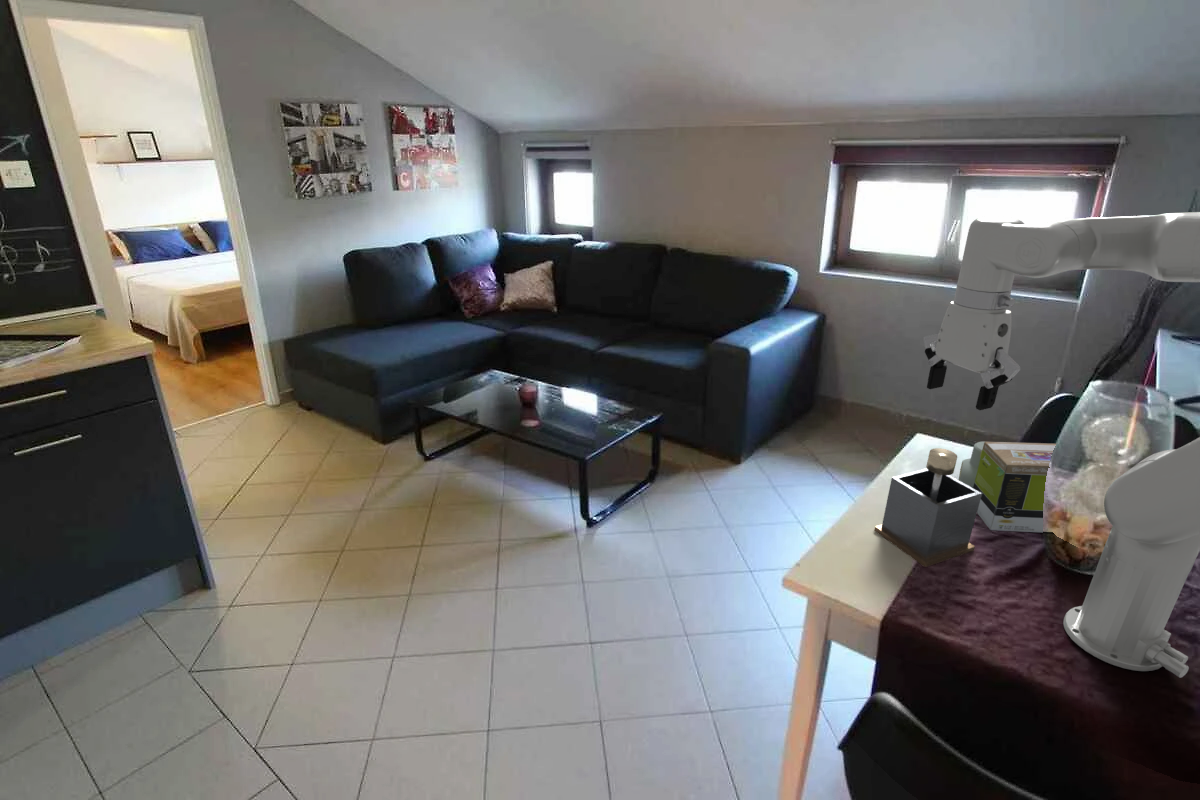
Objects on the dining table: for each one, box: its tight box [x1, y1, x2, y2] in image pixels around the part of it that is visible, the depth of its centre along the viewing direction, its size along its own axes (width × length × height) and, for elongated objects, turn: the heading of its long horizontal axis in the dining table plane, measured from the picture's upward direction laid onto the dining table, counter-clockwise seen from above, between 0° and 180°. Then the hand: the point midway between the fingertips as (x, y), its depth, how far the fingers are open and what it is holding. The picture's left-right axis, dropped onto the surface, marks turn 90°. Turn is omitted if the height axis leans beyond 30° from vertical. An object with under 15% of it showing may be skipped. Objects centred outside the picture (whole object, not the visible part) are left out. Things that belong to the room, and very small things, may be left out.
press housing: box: [873, 468, 982, 568], centre depth 120 cm, size 12×12×12 cm
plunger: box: [925, 447, 958, 501], centre depth 118 cm, size 8×8×17 cm
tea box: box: [973, 441, 1057, 533], centre depth 126 cm, size 15×10×15 cm, turn 84°
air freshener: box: [958, 441, 985, 488], centre depth 137 cm, size 11×8×10 cm
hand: (958, 397), depth 110 cm, fingers open, 9 cm apart
